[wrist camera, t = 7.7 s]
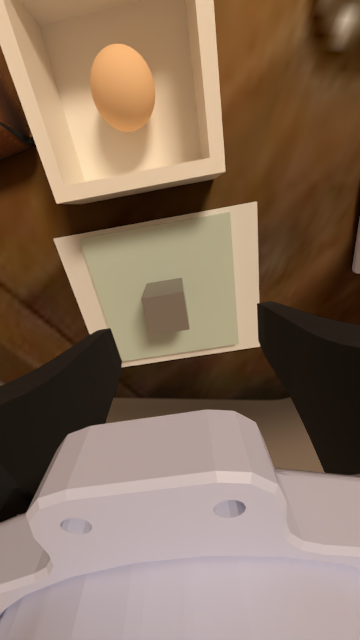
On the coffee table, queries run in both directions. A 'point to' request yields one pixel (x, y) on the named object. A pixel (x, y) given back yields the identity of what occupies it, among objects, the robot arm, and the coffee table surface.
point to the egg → (122, 87)
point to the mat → (244, 275)
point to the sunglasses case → (11, 125)
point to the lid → (167, 286)
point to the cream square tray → (79, 108)
